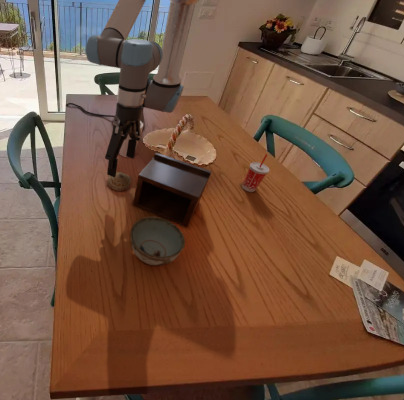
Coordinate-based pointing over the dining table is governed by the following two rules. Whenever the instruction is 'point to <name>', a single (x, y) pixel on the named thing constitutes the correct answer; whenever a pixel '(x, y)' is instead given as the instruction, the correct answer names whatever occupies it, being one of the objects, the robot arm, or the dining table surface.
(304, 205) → the dining table surface
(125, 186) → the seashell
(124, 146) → the foam cup
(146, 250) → the bowl
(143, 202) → the shelf
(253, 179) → the beverage cup
